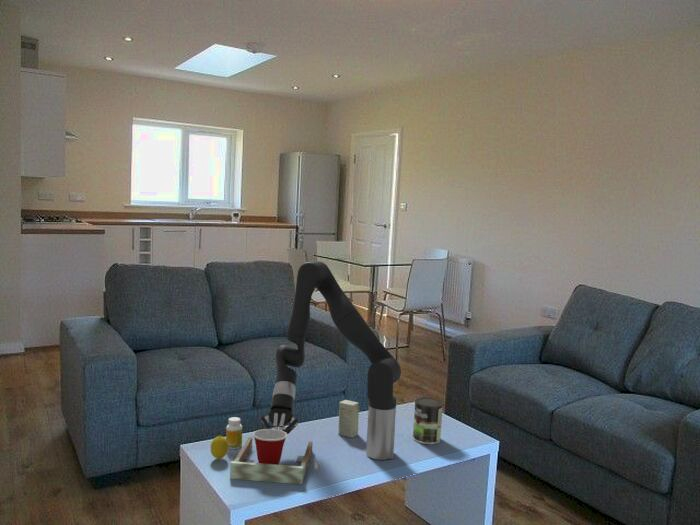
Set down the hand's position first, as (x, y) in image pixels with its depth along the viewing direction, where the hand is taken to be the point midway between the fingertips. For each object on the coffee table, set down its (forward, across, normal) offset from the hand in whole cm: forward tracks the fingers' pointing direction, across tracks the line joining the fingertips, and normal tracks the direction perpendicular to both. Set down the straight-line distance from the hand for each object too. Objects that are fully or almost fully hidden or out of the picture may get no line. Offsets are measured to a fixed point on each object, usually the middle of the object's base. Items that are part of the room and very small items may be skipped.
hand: (275, 446), depth 197 cm
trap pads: (+4, 0, +3) cm, 5 cm away
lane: (+5, 0, +2) cm, 5 cm away
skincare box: (-15, +22, +22) cm, 35 cm away
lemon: (+5, -18, +2) cm, 19 cm away
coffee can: (-16, +51, +23) cm, 58 cm away
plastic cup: (+8, -1, -1) cm, 9 cm away
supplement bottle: (-3, -16, +10) cm, 19 cm away
